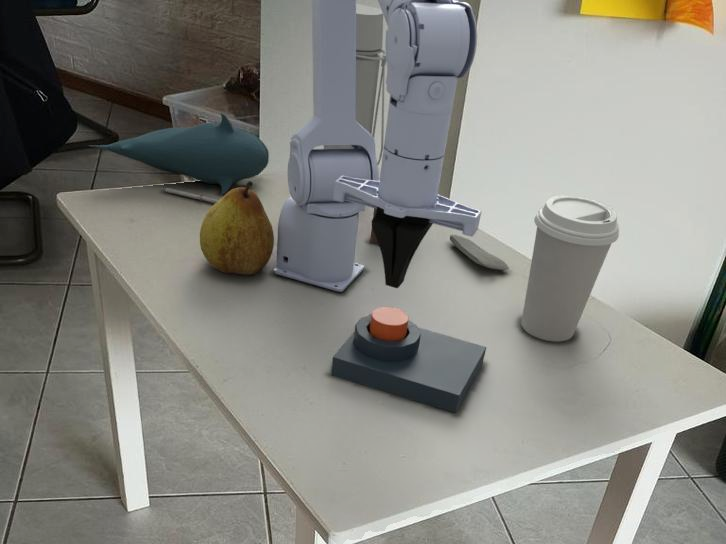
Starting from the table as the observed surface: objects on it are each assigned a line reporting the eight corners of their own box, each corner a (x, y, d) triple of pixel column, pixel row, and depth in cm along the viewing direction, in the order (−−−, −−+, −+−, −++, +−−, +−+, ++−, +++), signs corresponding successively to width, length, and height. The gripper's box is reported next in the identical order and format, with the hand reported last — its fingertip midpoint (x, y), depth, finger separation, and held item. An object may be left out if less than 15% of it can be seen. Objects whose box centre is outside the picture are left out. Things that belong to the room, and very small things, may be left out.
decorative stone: (463, 245, 119) (437, 240, 116) (467, 236, 118) (441, 231, 115) (509, 274, 112) (482, 269, 109) (512, 265, 111) (486, 260, 108)
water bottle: (312, 193, 126) (325, 8, 110) (328, 177, 132) (343, -1, 116) (369, 206, 124) (391, 21, 108) (383, 189, 130) (406, 11, 114)
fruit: (204, 250, 107) (203, 156, 99) (274, 256, 108) (278, 164, 100) (195, 280, 100) (193, 183, 93) (270, 287, 101) (274, 191, 93)
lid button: (363, 335, 88) (365, 318, 86) (376, 320, 90) (379, 303, 89) (398, 346, 87) (401, 329, 85) (410, 329, 90) (413, 313, 88)
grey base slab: (330, 374, 88) (334, 342, 85) (367, 330, 96) (371, 299, 93) (455, 413, 85) (462, 380, 82) (482, 363, 93) (490, 332, 90)
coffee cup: (528, 350, 96) (561, 227, 87) (496, 310, 103) (525, 192, 93) (599, 346, 99) (640, 226, 89) (564, 307, 106) (599, 192, 96)
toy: (278, 117, 119) (249, 117, 132) (92, 103, 109) (80, 104, 122) (276, 197, 124) (249, 189, 136) (97, 190, 114) (85, 182, 126)
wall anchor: (217, 205, 118) (218, 198, 118) (164, 193, 120) (164, 186, 119) (220, 205, 119) (221, 198, 118) (167, 193, 120) (168, 186, 120)
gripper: (325, 143, 75) (315, 279, 84) (477, 180, 72) (449, 318, 81) (354, 123, 80) (341, 254, 89) (497, 158, 77) (469, 289, 86)
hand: (394, 283), depth 85 cm, fingers closed
